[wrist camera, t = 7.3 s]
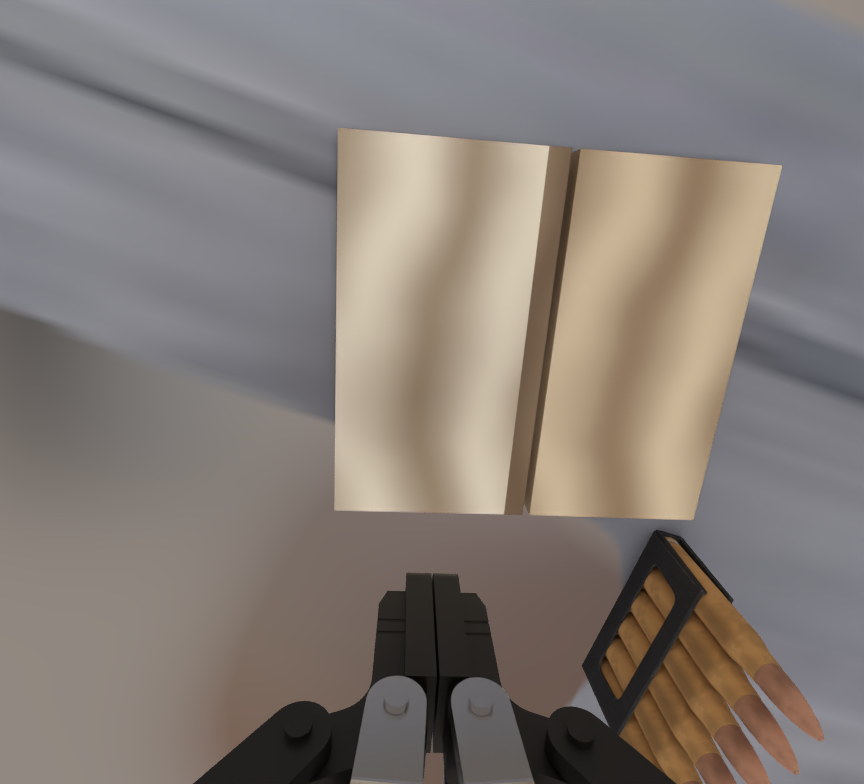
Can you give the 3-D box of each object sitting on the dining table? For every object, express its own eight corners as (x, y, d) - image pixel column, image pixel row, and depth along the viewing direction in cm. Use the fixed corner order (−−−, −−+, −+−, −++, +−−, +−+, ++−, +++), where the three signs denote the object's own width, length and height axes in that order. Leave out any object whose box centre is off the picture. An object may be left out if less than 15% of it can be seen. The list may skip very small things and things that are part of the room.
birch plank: (561, 153, 23) (572, 148, 21) (515, 500, 28) (522, 514, 27) (341, 134, 22) (337, 127, 21) (337, 495, 27) (334, 510, 26)
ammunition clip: (655, 528, 29) (815, 716, 18) (682, 537, 30) (857, 726, 18) (581, 666, 32) (678, 904, 21) (606, 672, 32) (716, 911, 21)
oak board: (759, 169, 24) (782, 165, 22) (679, 506, 29) (693, 520, 27) (569, 154, 23) (581, 148, 21) (523, 500, 28) (529, 515, 27)
